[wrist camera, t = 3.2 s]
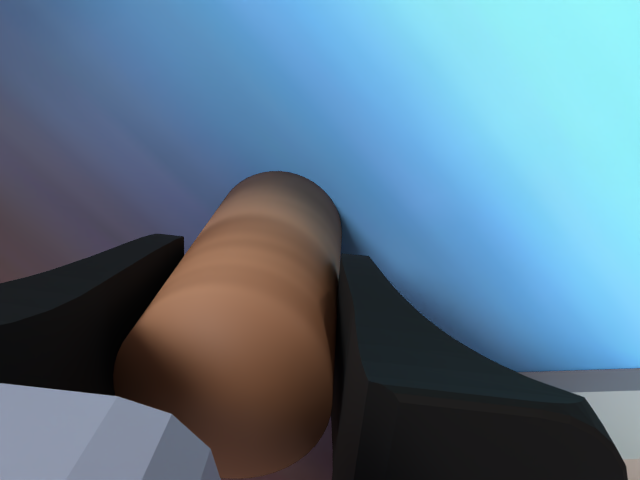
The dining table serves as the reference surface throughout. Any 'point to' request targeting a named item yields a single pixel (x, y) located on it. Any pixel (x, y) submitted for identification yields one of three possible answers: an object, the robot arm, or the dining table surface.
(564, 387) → the hole block
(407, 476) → the robot arm
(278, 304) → the peg
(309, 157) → the dining table surface
